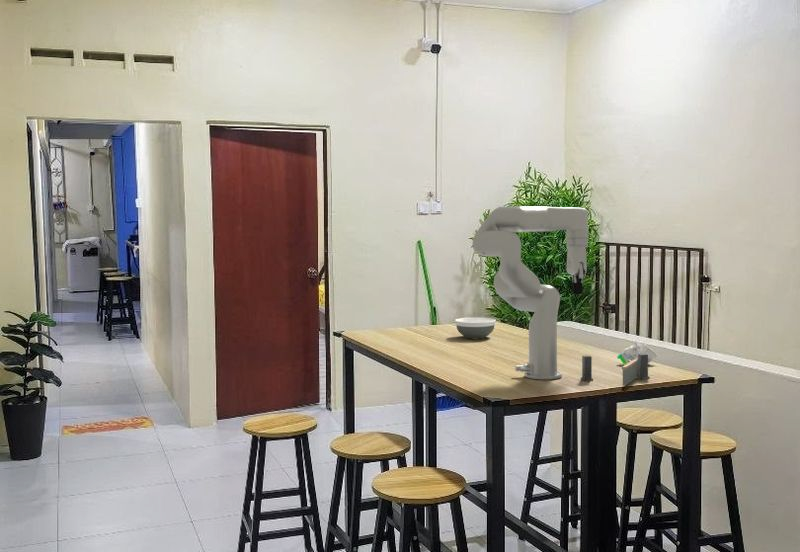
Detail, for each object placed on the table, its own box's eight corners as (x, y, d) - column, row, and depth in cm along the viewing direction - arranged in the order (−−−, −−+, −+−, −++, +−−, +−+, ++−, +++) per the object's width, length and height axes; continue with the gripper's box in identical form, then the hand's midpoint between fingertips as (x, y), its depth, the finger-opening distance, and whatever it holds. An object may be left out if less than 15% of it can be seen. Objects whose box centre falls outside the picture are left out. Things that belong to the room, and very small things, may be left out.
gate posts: (583, 380, 265) (583, 357, 264) (580, 379, 268) (580, 355, 267) (649, 378, 267) (649, 354, 266) (645, 376, 270) (645, 353, 269)
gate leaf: (626, 385, 254) (626, 367, 254) (621, 385, 255) (621, 366, 255) (639, 376, 268) (639, 358, 268) (634, 376, 269) (635, 358, 269)
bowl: (462, 341, 352) (462, 323, 351) (449, 335, 370) (449, 318, 369) (502, 339, 356) (501, 321, 355) (487, 333, 374) (487, 316, 374)
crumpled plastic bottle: (624, 352, 299) (642, 336, 294) (639, 371, 296) (658, 355, 291) (610, 357, 290) (628, 341, 285) (626, 377, 287) (644, 361, 282)
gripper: (561, 242, 291) (561, 292, 293) (572, 244, 276) (573, 296, 278) (581, 241, 292) (581, 291, 293) (593, 243, 277) (594, 295, 278)
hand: (577, 293), depth 286 cm, fingers closed
